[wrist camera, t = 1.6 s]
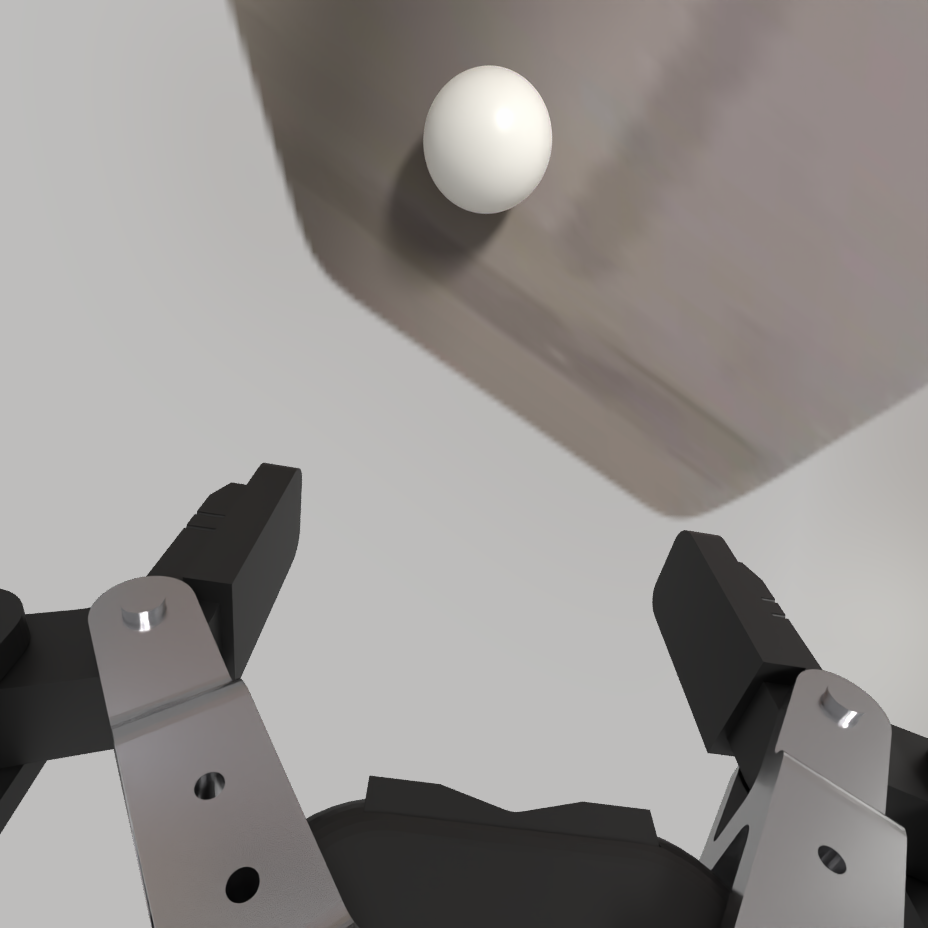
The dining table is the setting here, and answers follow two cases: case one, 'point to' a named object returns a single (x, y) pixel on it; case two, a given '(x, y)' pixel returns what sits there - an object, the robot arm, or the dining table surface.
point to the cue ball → (487, 139)
